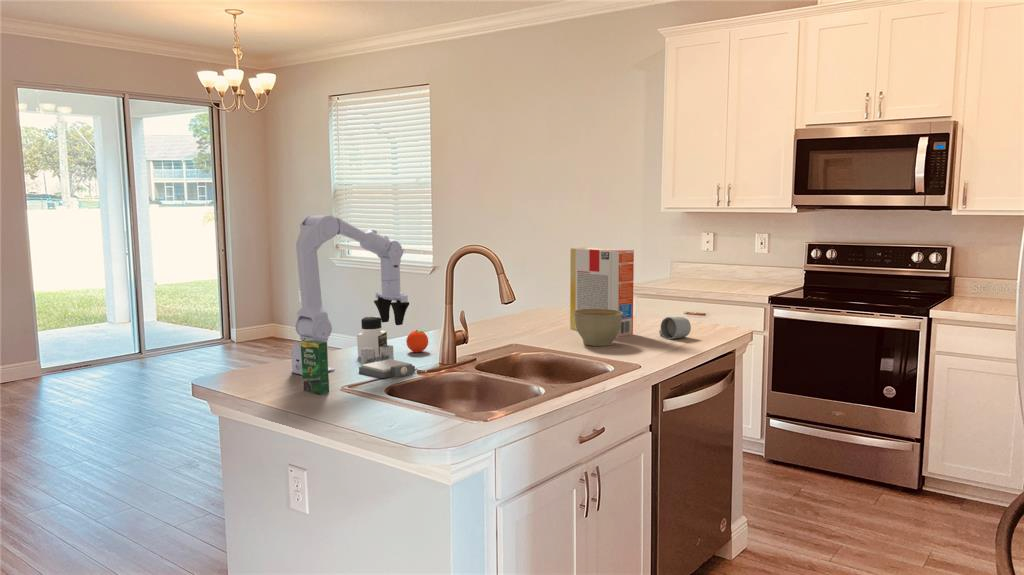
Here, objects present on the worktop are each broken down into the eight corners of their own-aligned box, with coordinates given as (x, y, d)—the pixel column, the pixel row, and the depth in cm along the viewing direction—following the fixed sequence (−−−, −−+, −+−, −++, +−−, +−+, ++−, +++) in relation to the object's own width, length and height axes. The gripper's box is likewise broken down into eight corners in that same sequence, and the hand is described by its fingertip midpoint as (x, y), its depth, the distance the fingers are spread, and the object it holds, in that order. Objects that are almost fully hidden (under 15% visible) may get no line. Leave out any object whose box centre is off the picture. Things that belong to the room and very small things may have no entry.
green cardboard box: (301, 390, 189) (299, 339, 188) (311, 388, 191) (309, 338, 190) (320, 395, 184) (318, 343, 182) (330, 393, 186) (328, 341, 185)
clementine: (429, 349, 241) (429, 327, 240) (433, 353, 234) (433, 330, 234) (404, 350, 239) (404, 328, 238) (408, 354, 232) (408, 332, 231)
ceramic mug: (692, 338, 256) (692, 316, 256) (676, 340, 252) (676, 318, 251) (669, 334, 265) (669, 313, 264) (653, 336, 260) (653, 315, 259)
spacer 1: (367, 368, 214) (366, 351, 214) (358, 366, 217) (358, 349, 216) (378, 365, 217) (377, 348, 216) (369, 363, 220) (369, 347, 219)
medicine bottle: (379, 358, 227) (377, 319, 226) (357, 357, 229) (355, 319, 227) (387, 352, 234) (386, 315, 233) (366, 352, 236) (364, 315, 234)
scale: (388, 379, 200) (388, 369, 199) (359, 372, 208) (358, 362, 208) (419, 372, 208) (419, 362, 208) (390, 365, 217) (389, 356, 216)
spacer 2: (385, 365, 218) (385, 348, 217) (377, 363, 221) (376, 346, 220) (396, 362, 221) (396, 346, 220) (387, 361, 223) (387, 344, 223)
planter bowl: (611, 350, 236) (611, 316, 235) (565, 346, 244) (565, 313, 243) (629, 342, 250) (630, 310, 249) (585, 338, 258) (586, 307, 257)
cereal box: (632, 334, 265) (633, 250, 261) (618, 337, 260) (618, 251, 256) (585, 326, 282) (585, 247, 278) (570, 329, 277) (570, 248, 273)
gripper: (415, 280, 225) (416, 324, 227) (388, 276, 236) (389, 319, 237) (395, 282, 220) (397, 327, 222) (369, 278, 231) (370, 321, 233)
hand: (392, 323), depth 229 cm, fingers open, 7 cm apart
